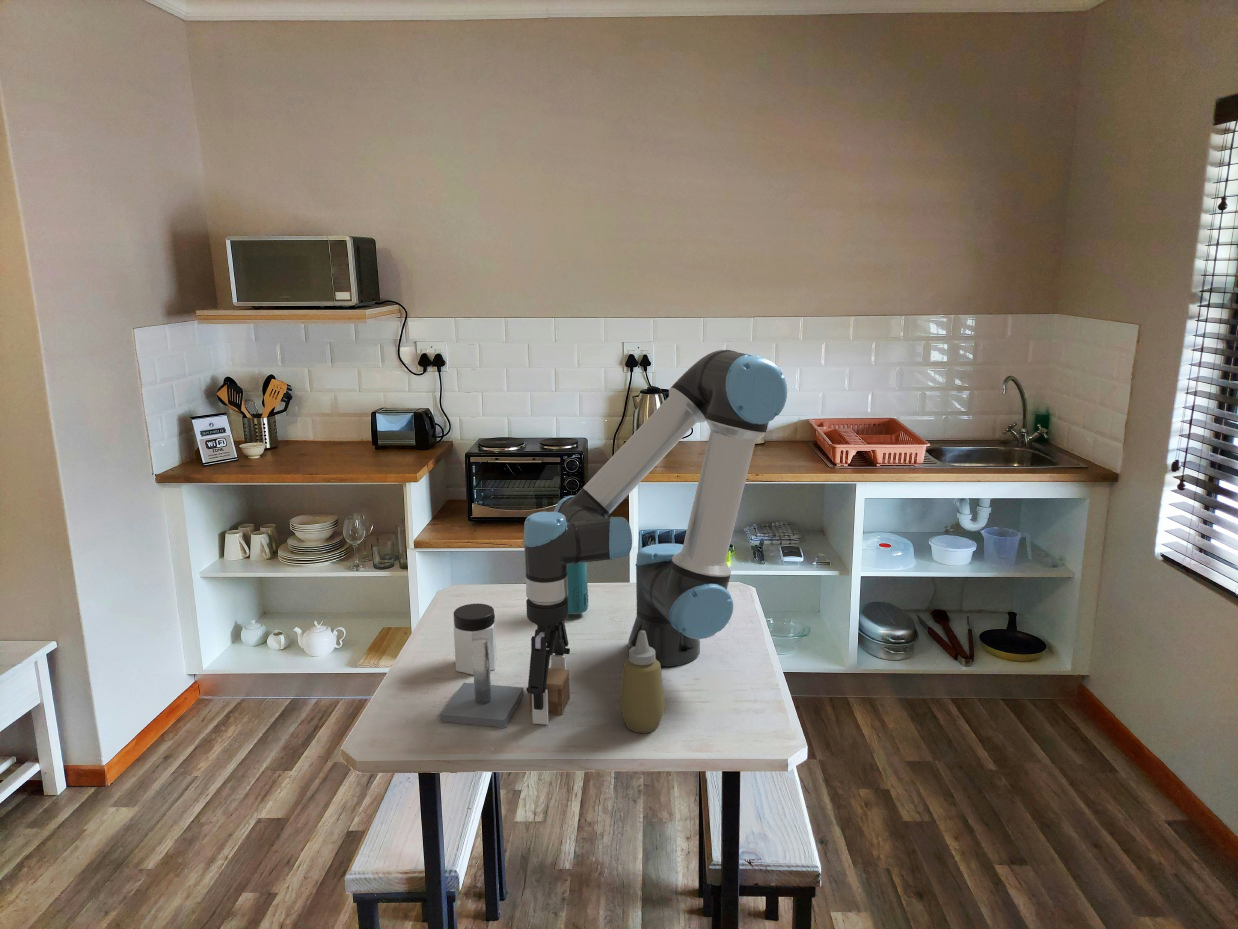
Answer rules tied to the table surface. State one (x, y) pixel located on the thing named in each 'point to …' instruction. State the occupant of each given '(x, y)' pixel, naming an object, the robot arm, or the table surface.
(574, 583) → the beverage bottle
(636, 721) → the squeeze bottle
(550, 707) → the brown wooden cube
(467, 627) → the jar
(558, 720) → the table surface
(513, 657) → the table surface
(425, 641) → the table surface
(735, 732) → the table surface
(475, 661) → the post
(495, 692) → the base plate
